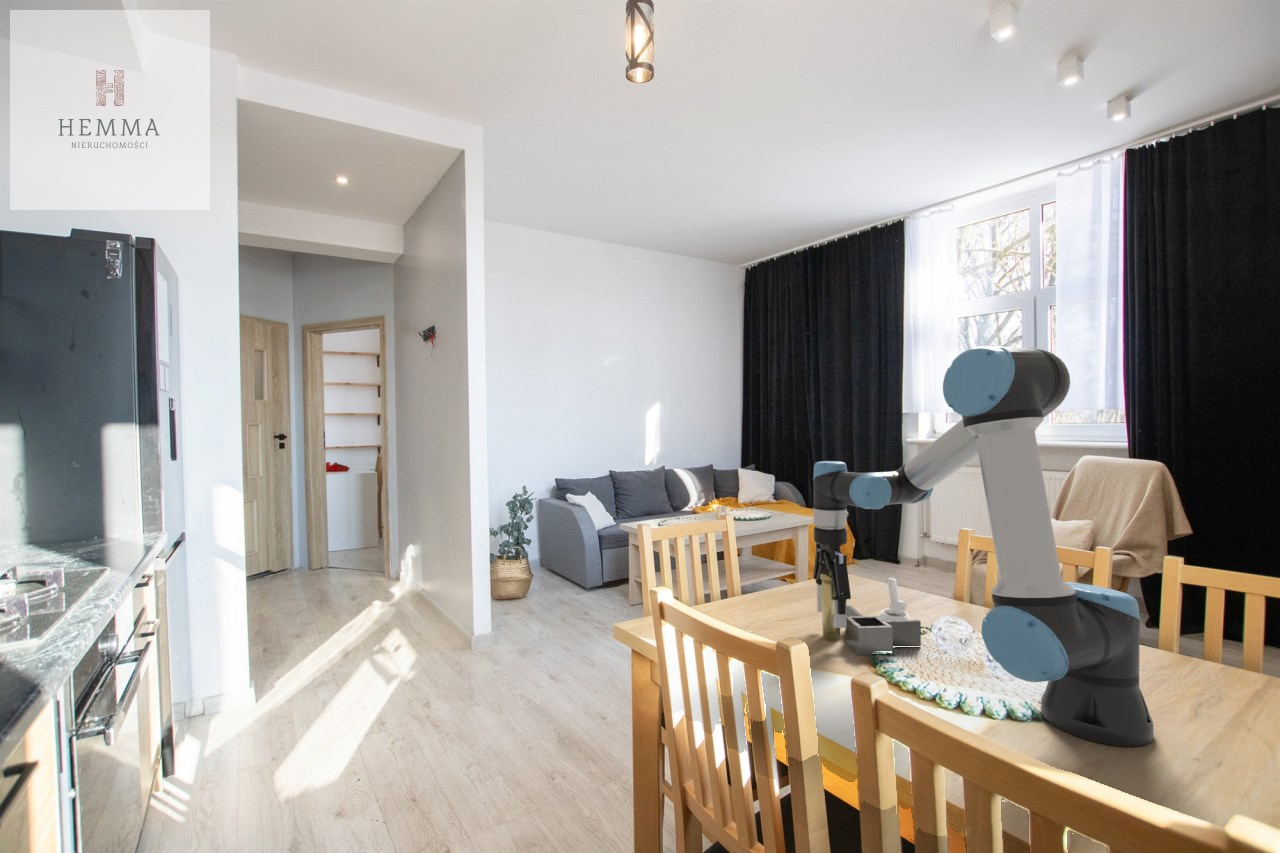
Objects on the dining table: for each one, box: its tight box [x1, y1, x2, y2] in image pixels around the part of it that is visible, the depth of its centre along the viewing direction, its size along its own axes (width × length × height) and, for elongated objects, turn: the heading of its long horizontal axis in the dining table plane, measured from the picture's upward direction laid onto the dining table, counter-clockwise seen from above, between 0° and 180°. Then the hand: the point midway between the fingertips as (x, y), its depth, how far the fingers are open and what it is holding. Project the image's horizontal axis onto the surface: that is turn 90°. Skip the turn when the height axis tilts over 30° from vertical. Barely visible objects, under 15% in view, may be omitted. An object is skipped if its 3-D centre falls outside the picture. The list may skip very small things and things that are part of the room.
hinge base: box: [844, 605, 922, 656], centre depth 139 cm, size 16×16×6 cm
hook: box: [878, 577, 912, 621], centre depth 157 cm, size 8×12×7 cm
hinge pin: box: [820, 572, 841, 642], centre depth 142 cm, size 5×5×15 cm
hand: (831, 618), depth 142 cm, fingers open, 11 cm apart
